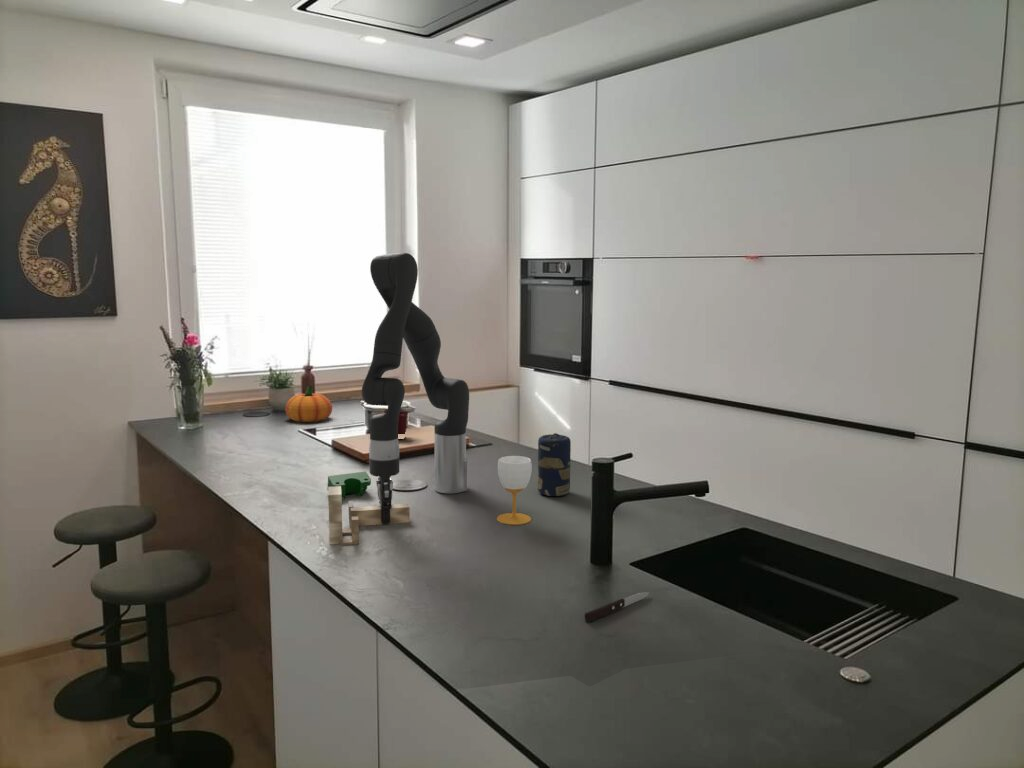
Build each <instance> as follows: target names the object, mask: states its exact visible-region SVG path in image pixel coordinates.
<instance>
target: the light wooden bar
mask: <svg viewBox="0 0 1024 768" xmlns="http://www.w3.org/2000/svg"><path fill="white" fill-rule="evenodd" d="M347 503H348V505H347V506H348V526H349V528H348V529H351V508H356V507H357V506H356V507H355V506H354V505H355V503H354V500H348V502H347ZM391 505H392V507H391V509H390V523H387V524H386V525H388V524H390V525H391V524H400V523H401V524H402V523H404V524H405V523H410V521H411V520H410V519H411V518H410V517H411V515H410V514H411V513H410V505H409V503H399V504H398V503H397V504H391ZM357 516H358V527H361V525H362V526H373V525H374V526H375V525H376V524H377V525H383V524H382V522H381V508H380V505H372V506H371V505H370V506H359V507H357Z"/></svg>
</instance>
